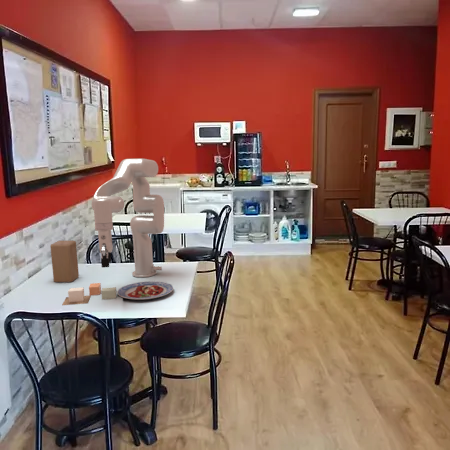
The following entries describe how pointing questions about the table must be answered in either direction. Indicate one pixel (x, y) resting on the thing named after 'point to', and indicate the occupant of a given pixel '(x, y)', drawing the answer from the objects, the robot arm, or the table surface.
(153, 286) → the ceramic plate
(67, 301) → the walnut board
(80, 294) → the cream base brick
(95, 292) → the terracotta brick
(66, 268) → the wooden block
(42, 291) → the table surface
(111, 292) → the sage green brick
